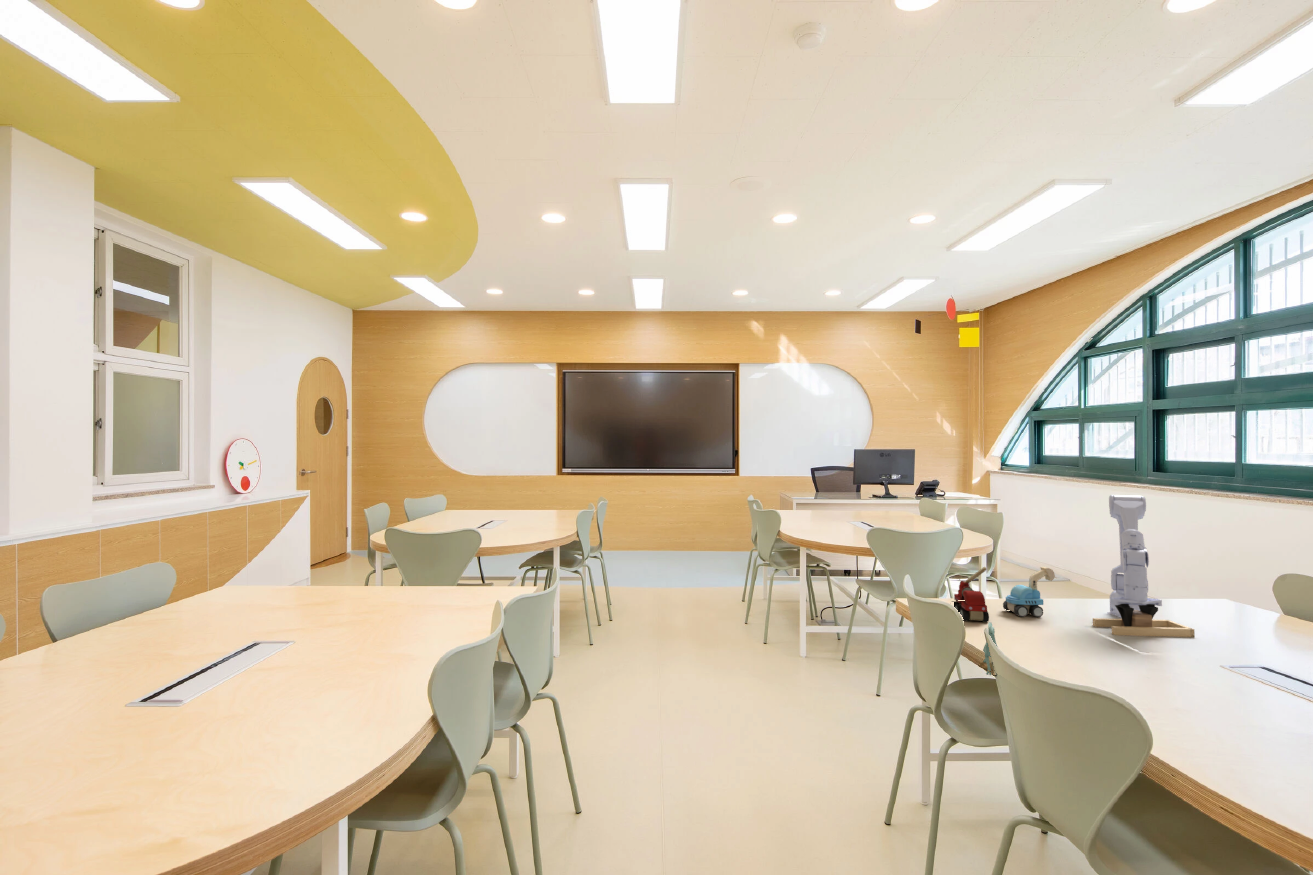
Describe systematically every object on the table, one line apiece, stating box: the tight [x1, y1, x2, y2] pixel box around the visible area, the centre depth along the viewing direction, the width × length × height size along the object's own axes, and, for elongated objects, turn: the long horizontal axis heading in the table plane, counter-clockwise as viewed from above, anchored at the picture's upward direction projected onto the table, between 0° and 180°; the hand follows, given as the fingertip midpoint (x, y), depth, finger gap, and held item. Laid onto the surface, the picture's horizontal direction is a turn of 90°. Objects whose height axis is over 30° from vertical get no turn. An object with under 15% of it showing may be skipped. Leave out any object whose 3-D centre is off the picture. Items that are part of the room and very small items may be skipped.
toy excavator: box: [1002, 566, 1056, 618], centre depth 201 cm, size 9×17×17 cm, turn 89°
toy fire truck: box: [951, 566, 990, 622], centre depth 198 cm, size 11×16×18 cm
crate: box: [1122, 610, 1153, 627], centre depth 180 cm, size 6×5×6 cm
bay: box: [1092, 617, 1195, 638], centre depth 180 cm, size 10×24×3 cm, turn 85°
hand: (1136, 626), depth 180 cm, fingers closed on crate, 5 cm apart
